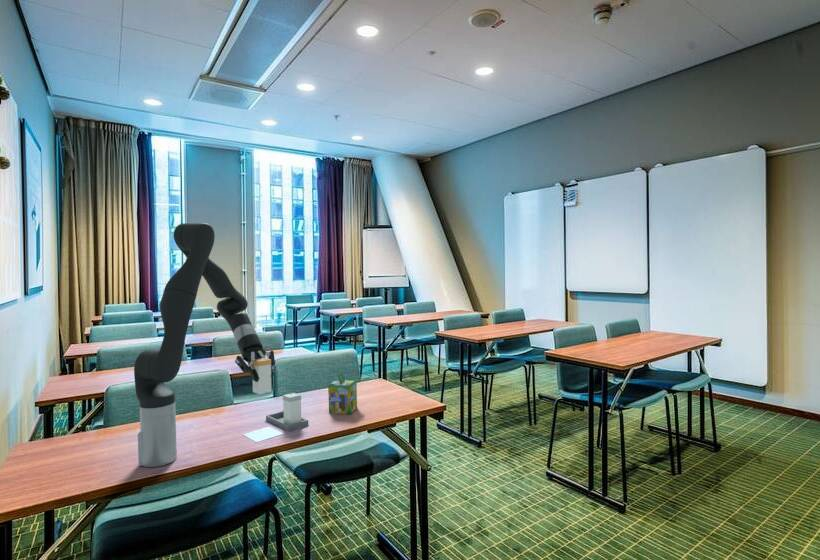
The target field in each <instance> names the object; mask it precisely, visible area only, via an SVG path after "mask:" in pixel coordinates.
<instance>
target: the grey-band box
mask: <svg viewBox="0 0 820 560" xmlns="http://www.w3.org/2000/svg"><path fill="white" fill-rule="evenodd" d="M282 402H283V411H284V423H286V424H288V425H291V424H295V423H298V422H301V417H302V395H301V394H300V393H297V392H291V393H287V394H283V395H282Z"/></svg>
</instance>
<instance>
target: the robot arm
mask: <svg viewBox="0 0 820 560" xmlns="http://www.w3.org/2000/svg"><path fill="white" fill-rule="evenodd" d="M215 236H216V235H215V230H214V227H213V226H212V225H211V224H209V223H206V222H185V223H179V224H178V225H177V226H176V227H175V228H174V231H173V240H174V243H175V245H176V246H177V248H178V249H179V250H180V251H181V253H183V254H184V256H185V257H186V259H185V262H184V263H183V264H182V265H181V267H180V268H179V269H178V270H177V271H176V272H175V273H174V274H173V275H172V276H171V278H170V279H169V280H168V281H167V282H166V284H165V287H164V290H163V292H162V295H161V299H160V302H159V311H160V315H161V320H162V323H163V325H162V326H163V329H164V330H163V331H164V332H163V338H162V342H161V345H160V348H159V349H146V350H143V351H141V353H139V354H138V356H137V357H136V359H135V361H134V365H133V367H134V368H133V376H134V386H135V395H136V398H137V400H138V402H139V427H140V428H139V429H140V431H139V432H138V433H137V455H138V456H137V457H138V467H145V468H146V467H147V468H155V467H156V468H157V467H161V466H164V465H168V464H171V463H173V462H175V461H176V459H177V458H178V455H177V453H178V452H177V451H178V450H177V424H176V423H177V420H176V419H177V418H176V394H175V392H174V390H172V389H170V388H169V387H168V386H167V385H166V383H168V382H171V381H173V380H174V379H175V378H176V377H177V375H178V373H179V371H180V368H181V365H182V360H183V353H184V347H185V341H186V337H187V331H188V328H189V324H190V320H191V316H192V312H193V309H194V306H195V302H196V298H197V296H198V292H199V286H200V284H201V281H202V278H203V279H204V280H205V282H206V284H207V285H208V286H209V289H210V290H211V292H212V293H213V294H214V296H215V297H216V298H218V299H220V300H219V301H218V302H217V303H216V310H217V312H218V313H219V315H220V316H221V317H222V318H223V319H224V320H225V321H226V322H227V323H228V325H229V327H230V329H231V331H232V334H233V338H234V340H235V344H236V345H237V347H238V350H239V353H240V355H237V356H236V358H235V359H234V362H235V364H236V365H237V367H239V369H240V370H241V371H242V373H244V374H246V373H249V374H250V376H251V378H252V381H253V380H254V381H255V382H258V380H259V376H258V374H257V372H256V370H255V367H254V365H253V360H255V359H260V358H267V359H271V380H272V379H273V377H274V375H275V373H274V371H273V368H274V366H275V365H276V360H275V359H276V358H275V352H274V351H273V350H270V351H266V350H265V349H264V347H263V344H262V341H261V339H260V337H259V335H258V333H257V331H256V329H255V327H254V325H253V324H252V322H251V320H250V318H249V316H248V314H246V313H242V312H244V311H246V310H247V308H248V300H247V299H246V297H245V296H244V295H243V293H241V292H240V291H238V289H236V287H234V285H233V284H232V282H231V279H230V278H229V276H228V275H227V273H226V272H225V270H224V269H223V268H222V267H220V265H219V264H217V263H216V262H215V261H214V260H212V259H211V258H210V254H211V253H212V250H213V247H214V243H215ZM246 362H247V363H246Z"/></svg>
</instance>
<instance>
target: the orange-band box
mask: <svg viewBox="0 0 820 560" xmlns="http://www.w3.org/2000/svg"><path fill="white" fill-rule="evenodd" d="M253 365H254V367H255V370H256V372H257V374H258V376H259V380H258V382H255V381H254V380H253V379H252V393H255V394H256V395H257V394H258V395H262V394H267V393H271V392H272V379H271V359H268V358H267V357H266V358H260V359H255V360H253Z"/></svg>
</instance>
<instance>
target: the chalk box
mask: <svg viewBox="0 0 820 560" xmlns="http://www.w3.org/2000/svg"><path fill="white" fill-rule="evenodd" d="M337 377H338V379H334V380H333V381H332V382H330V383H329V384H328V385H327V386H328V387H327V389H328V414H335V415H336V414H338V415H352V413H354V411H356V409H358V392H357V391H358V389H357V384H358V382H357V380H352V379H350V380H349V379H345V377H344V373H343V372H341V373H340V374H338V376H337Z"/></svg>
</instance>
